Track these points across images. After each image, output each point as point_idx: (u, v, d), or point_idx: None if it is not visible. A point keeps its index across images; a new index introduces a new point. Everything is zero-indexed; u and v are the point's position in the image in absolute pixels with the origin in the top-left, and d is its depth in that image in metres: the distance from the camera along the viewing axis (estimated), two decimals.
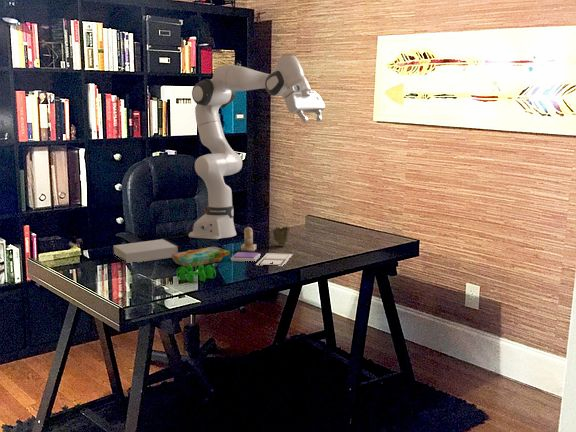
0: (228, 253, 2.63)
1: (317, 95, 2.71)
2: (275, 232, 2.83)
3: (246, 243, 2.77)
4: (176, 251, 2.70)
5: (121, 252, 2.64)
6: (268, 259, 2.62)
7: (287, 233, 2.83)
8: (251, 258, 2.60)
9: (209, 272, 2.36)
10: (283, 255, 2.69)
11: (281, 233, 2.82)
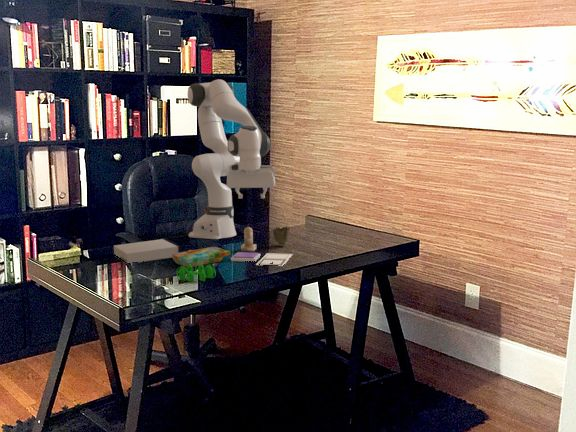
0: (228, 253, 2.63)
1: (267, 173, 2.70)
2: (275, 232, 2.83)
3: (246, 243, 2.77)
4: (177, 251, 2.70)
5: (122, 252, 2.64)
6: (268, 259, 2.62)
7: (287, 233, 2.83)
8: (251, 258, 2.60)
9: (209, 272, 2.36)
10: (283, 255, 2.69)
11: (281, 233, 2.82)
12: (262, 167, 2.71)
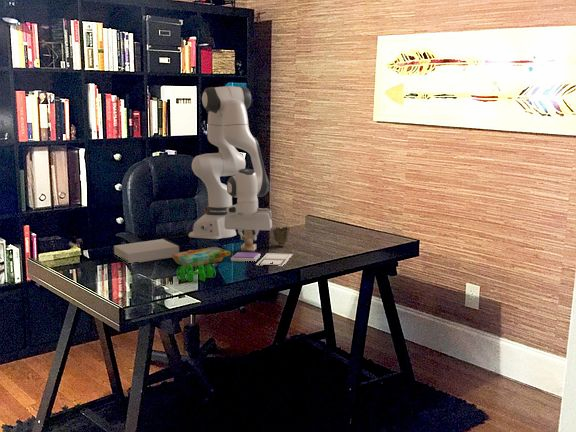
0: (229, 253, 2.62)
1: (264, 216, 2.73)
2: (275, 232, 2.83)
3: (246, 243, 2.77)
4: (177, 251, 2.71)
5: (123, 252, 2.64)
6: (268, 259, 2.62)
7: (287, 233, 2.83)
8: (251, 258, 2.60)
9: (209, 272, 2.37)
10: (283, 255, 2.69)
11: (281, 233, 2.82)
12: (259, 210, 2.75)
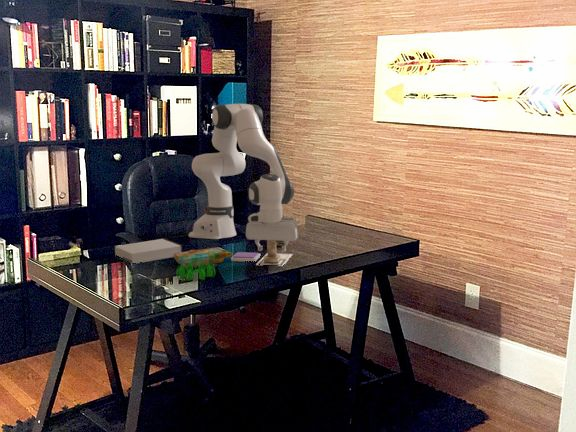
0: (230, 254, 2.61)
1: (289, 225, 2.52)
2: None
3: (269, 254, 2.56)
4: (180, 250, 2.72)
5: (126, 252, 2.64)
6: None
7: None
8: (251, 258, 2.60)
9: (209, 271, 2.38)
10: (283, 255, 2.69)
11: None
12: (284, 219, 2.54)
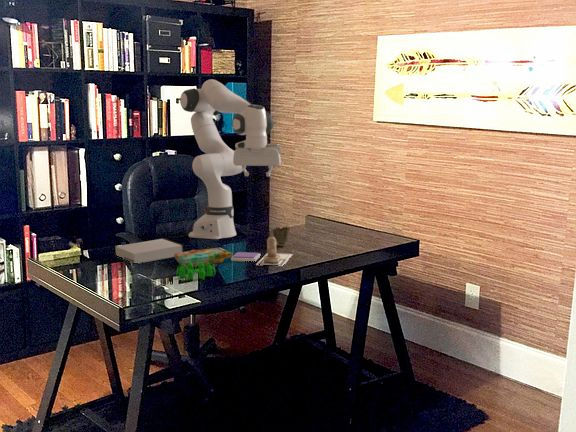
0: (230, 255, 2.60)
1: (273, 151, 2.74)
2: (275, 232, 2.83)
3: (269, 254, 2.56)
4: (181, 250, 2.72)
5: (127, 252, 2.63)
6: None
7: (287, 233, 2.83)
8: (251, 258, 2.60)
9: (208, 270, 2.39)
10: (283, 255, 2.69)
11: (281, 233, 2.82)
12: (268, 145, 2.75)
